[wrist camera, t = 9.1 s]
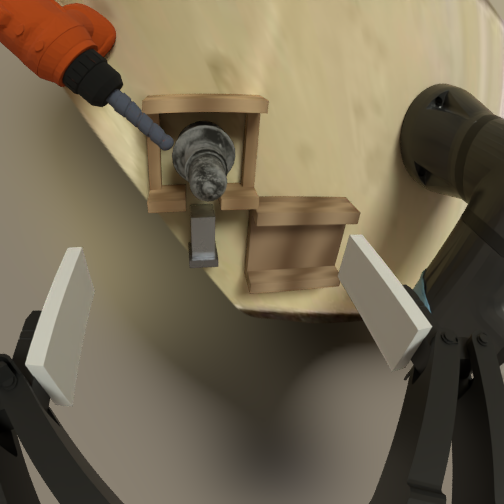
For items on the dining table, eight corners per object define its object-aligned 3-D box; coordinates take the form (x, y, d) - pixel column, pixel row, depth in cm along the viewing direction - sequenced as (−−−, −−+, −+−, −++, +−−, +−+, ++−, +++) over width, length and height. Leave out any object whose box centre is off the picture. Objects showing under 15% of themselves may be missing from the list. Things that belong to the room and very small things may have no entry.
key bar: (215, 204, 35) (219, 219, 32) (215, 248, 38) (218, 266, 35) (187, 204, 34) (187, 220, 31) (188, 249, 38) (189, 268, 35)
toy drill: (171, 141, 28) (133, 192, 16) (48, 34, 20) (-48, 25, 7) (207, 105, 27) (196, 124, 14) (79, -3, 19) (-6, -39, 6)
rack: (345, 197, 38) (360, 212, 34) (328, 267, 44) (339, 286, 41) (250, 196, 35) (257, 213, 32) (244, 273, 42) (250, 293, 38)
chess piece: (180, 177, 32) (179, 238, 23) (168, 125, 29) (157, 164, 19) (234, 165, 33) (257, 220, 23) (225, 113, 29) (246, 144, 20)
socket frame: (259, 95, 29) (268, 100, 25) (251, 192, 35) (258, 209, 32) (147, 95, 26) (142, 101, 23) (151, 195, 33) (148, 213, 30)
